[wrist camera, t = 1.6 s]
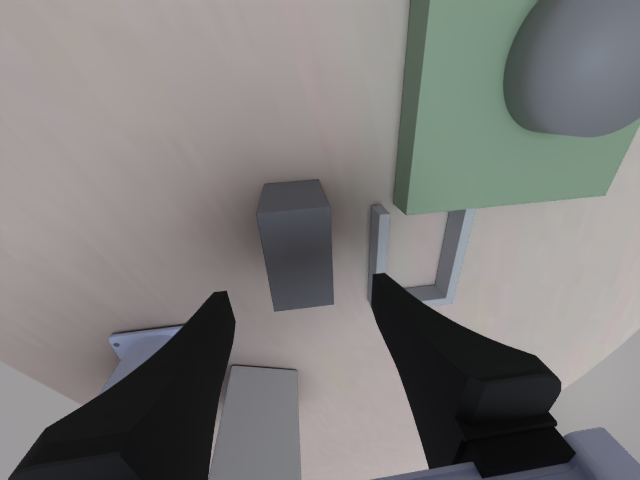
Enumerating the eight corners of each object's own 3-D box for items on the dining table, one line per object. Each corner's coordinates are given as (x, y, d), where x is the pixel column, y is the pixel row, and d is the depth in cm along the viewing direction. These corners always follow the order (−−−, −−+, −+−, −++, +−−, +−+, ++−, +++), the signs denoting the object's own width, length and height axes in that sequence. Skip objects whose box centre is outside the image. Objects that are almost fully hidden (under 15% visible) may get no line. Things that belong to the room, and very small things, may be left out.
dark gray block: (322, 257, 23) (333, 304, 17) (277, 262, 22) (274, 311, 17) (318, 179, 19) (330, 206, 14) (264, 183, 19) (256, 213, 14)
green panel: (534, 278, 27) (590, 317, 22) (367, 299, 25) (386, 345, 20) (668, -41, 15) (842, -107, 11) (382, -35, 14) (432, -108, 9)
